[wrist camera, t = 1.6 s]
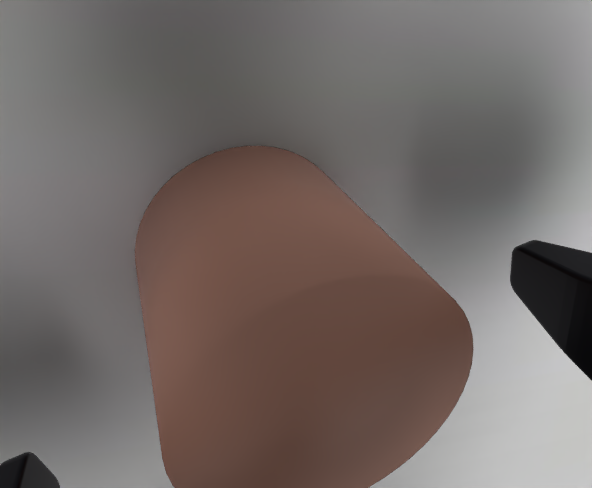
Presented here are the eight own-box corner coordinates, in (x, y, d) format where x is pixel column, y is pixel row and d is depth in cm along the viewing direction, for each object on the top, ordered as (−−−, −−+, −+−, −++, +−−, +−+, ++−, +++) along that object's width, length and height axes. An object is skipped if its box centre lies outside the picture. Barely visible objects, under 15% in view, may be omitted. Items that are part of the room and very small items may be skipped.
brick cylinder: (356, 288, 13) (471, 437, 9) (180, 360, 12) (222, 559, 8) (326, 114, 10) (475, 220, 6) (94, 192, 9) (97, 372, 5)
